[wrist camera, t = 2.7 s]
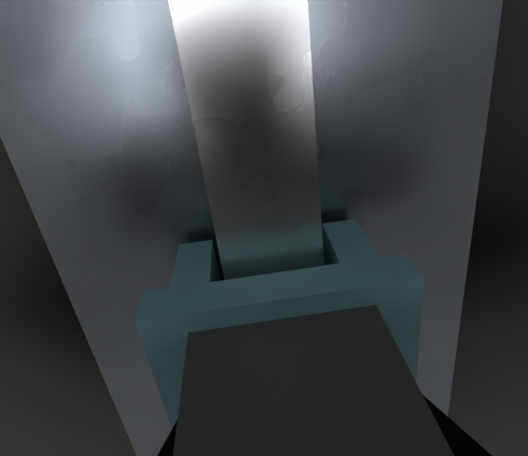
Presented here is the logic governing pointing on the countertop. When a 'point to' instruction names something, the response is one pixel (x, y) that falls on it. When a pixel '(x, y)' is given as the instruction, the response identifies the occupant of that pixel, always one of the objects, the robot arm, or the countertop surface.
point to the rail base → (155, 177)
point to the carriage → (292, 355)
